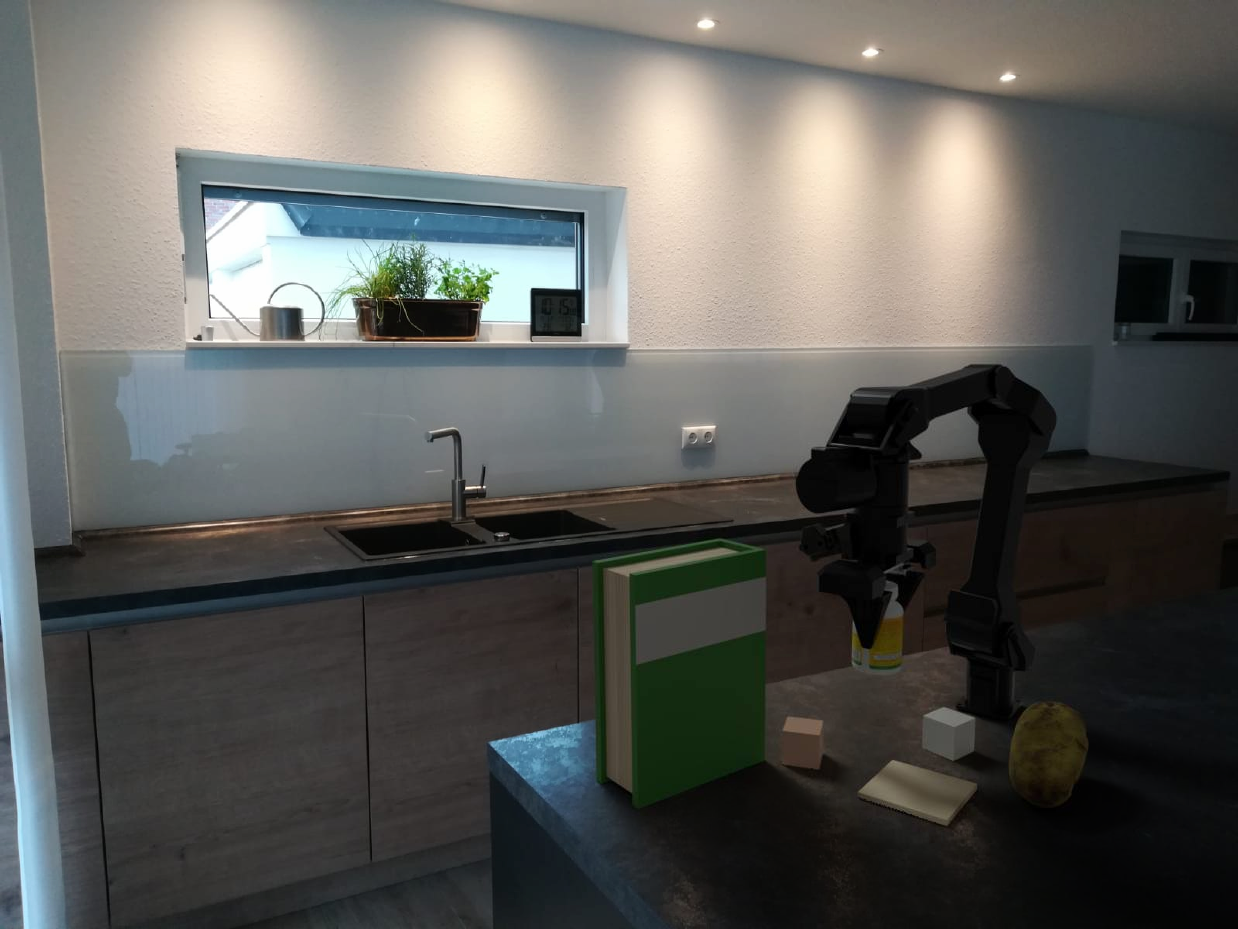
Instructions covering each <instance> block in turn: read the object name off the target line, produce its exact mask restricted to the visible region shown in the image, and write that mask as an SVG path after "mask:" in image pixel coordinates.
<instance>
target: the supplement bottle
mask: <svg viewBox="0 0 1238 929" xmlns="http://www.w3.org/2000/svg"><path fill="white" fill-rule="evenodd" d="M884 590H886V591H892V592H893V593H892V596H891V599H890V602H889V605H888V607H887V610H886V613H885V615H884V618H883V621H882V624H881V626H880V629H879V632H878V635H877V637H876V640H875V642H874V645H873V647H872V648H871V649H865V648H862V647H861V644H860V641H859V637H858V634H857V631H856V628H855V624H854V621H853V620H852V636H851V637H852V639H851V641H852V642H851V663H852V667H853V668H854V669H855V670H857V671H858V672H861V673H864V674H868V675H873V676H874V675H876V676H890V675H891V676H892V675H895V674H897V673H898V672H900V670H901V669H902V664H903V639H904V638H903V637H904V634H903V633H904V614H903V608H902V606H901V605H900V604H899V603H898V602H897V601H895V599H896V598H897V596H898V585H897V584H896V583H894V582H890V581H886V586H885V589H884Z"/></svg>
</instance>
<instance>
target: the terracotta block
mask: <svg viewBox="0 0 1238 929" xmlns="http://www.w3.org/2000/svg"><path fill="white" fill-rule="evenodd" d="M781 731H782V732H781V733H782V734H781V735H782V736H781V738H782V740H781V742H782V743H781V747H782V748H781V765H782V764H784V765H783V766H789V765H790V766H789V767H799V768H804V767H805V769H811V768H813V769H812V770H820V767H821V763H822V758H823V756H824V720H820V719H813V718H812V719H811V718H805V717H793V716H787V717H786V720H785V723H784V726H783V728H782V730H781Z"/></svg>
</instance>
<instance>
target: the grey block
mask: <svg viewBox="0 0 1238 929" xmlns="http://www.w3.org/2000/svg"><path fill="white" fill-rule="evenodd" d="M975 732H976V717H974V716H970V715H969V714H965V713H962V712H960V711H956V710H954V709H951V708H949V707H945V706H943V707H940V708H938V709H935V710H933V711H931V712H928V713H927V714H924V715H923V716H922V736H921V737H922V740H921V742H922V744H921V748H923V750H925V749H927V750H929V751H928V752H930V751H931V752H930V753H932V752H933V753H932V754H935V753H936V754H935V755H937V754H938V756H940V757H942V756H943V758H945V759H947V760H950V761H953V762H955V761H956V760H959V759H961V758H963V757H965V756H967V755H969V754H971V753H973V752H975V734H976V733H975ZM927 750H926V751H927ZM954 760H955V761H954Z"/></svg>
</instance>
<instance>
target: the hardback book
mask: <svg viewBox="0 0 1238 929" xmlns="http://www.w3.org/2000/svg"><path fill="white" fill-rule="evenodd" d="M592 602H593V603H592V605H593V606H592V609H593V610H592V611H593V652H594V653H593V654H594V655H593V658H594V662H593V663H594V667H593V668H594V702H595V704H594V705H595V706H594V712H595V713H594V715H595V754H596V756H595V758H596V759H595V764H596V765H595V766H596V768H595V769H596V782H598V783H599V784H601V785H603V784H606V783H608V782H609V783H610V782H611V781H612V782H614V783H616V784H618V785H619V786H620V787H622V788H623V789H624V790H626V791H628V792H629V793H631V794H632V795H631V796H632V797H631V798H632V806H633V807H635V808H636V809H637V810H639V809H642V808H644V807H646V806H647V807H648V806H651V805H653V804H655V803H657V802H660V801H663V800H666V799H667V798H670V797H673V796H676V795H678V794H681V793H683V792H686V791H689V790H692V789H694V788H696V787H697V788H698V787H700V786H702V785H704V784H707V783H709V782H712V781H715V780H717V778H718V779H720V778H723V777H726V776H728V775H730V774H729V773H731V774H733V773H735V771H736V772H738V771H741V770H744V769H746V768H748V767H751V766H754V765H757V764H759V763H761V762H764V761H765V760H766V674H767V673H766V672H767V671H766V665H767V664H766V660H767V659H766V656H767V654H766V652H767V651H766V649H767V648H766V647H767V646H766V644H767V642H766V641H767V640H766V639H767V638H766V636H767V633H766V629H767V624H766V623H767V549H765V548H762V547H757V546H753V545H749V544H745V543H741V542H736V541H732V540H729V539H724V538H715V539H710V540H704V541H699V542H692V543H688V544H682V545H681V544H680V545H676V546H670V547H665V548H660V549H659V548H658V549H653V550H648V551H642V552H637V553H636V552H635V553H631V554H627V555H625V554H624V555H621V556H614V557H609V558H603V559H598V560H593V561H592ZM763 760H764V761H763ZM756 763H757V764H756ZM745 767H746V768H745ZM737 770H738V771H737ZM719 777H720V778H719ZM711 780H712V781H711ZM701 784H702V785H701Z"/></svg>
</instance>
